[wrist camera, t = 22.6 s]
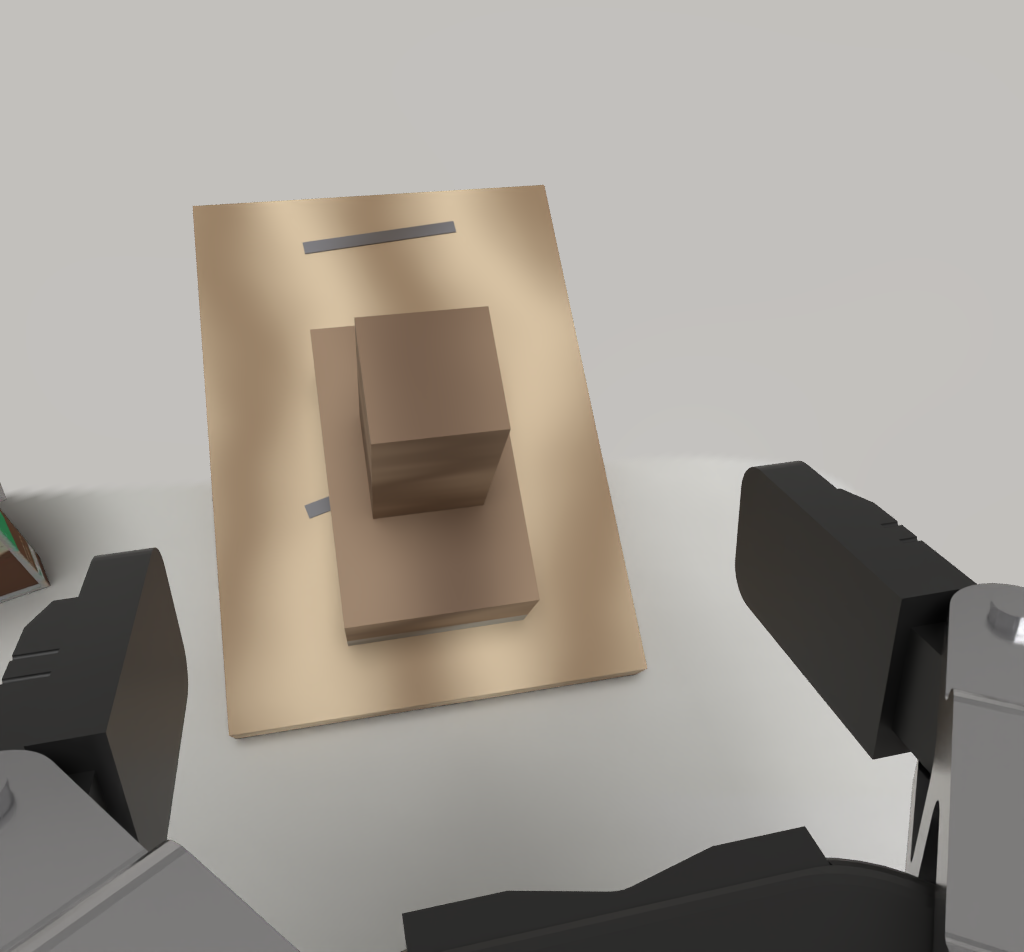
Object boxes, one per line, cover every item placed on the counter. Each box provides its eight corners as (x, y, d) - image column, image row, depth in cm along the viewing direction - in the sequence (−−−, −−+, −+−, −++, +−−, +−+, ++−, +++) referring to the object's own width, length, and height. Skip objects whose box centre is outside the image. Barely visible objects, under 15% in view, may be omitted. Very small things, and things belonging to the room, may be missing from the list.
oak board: (236, 738, 30) (228, 735, 29) (200, 229, 37) (192, 205, 35) (636, 674, 33) (647, 668, 31) (538, 207, 39) (544, 183, 38)
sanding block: (348, 646, 30) (333, 580, 21) (316, 374, 33) (292, 212, 24) (523, 620, 32) (583, 546, 22) (477, 359, 35) (513, 198, 25)
